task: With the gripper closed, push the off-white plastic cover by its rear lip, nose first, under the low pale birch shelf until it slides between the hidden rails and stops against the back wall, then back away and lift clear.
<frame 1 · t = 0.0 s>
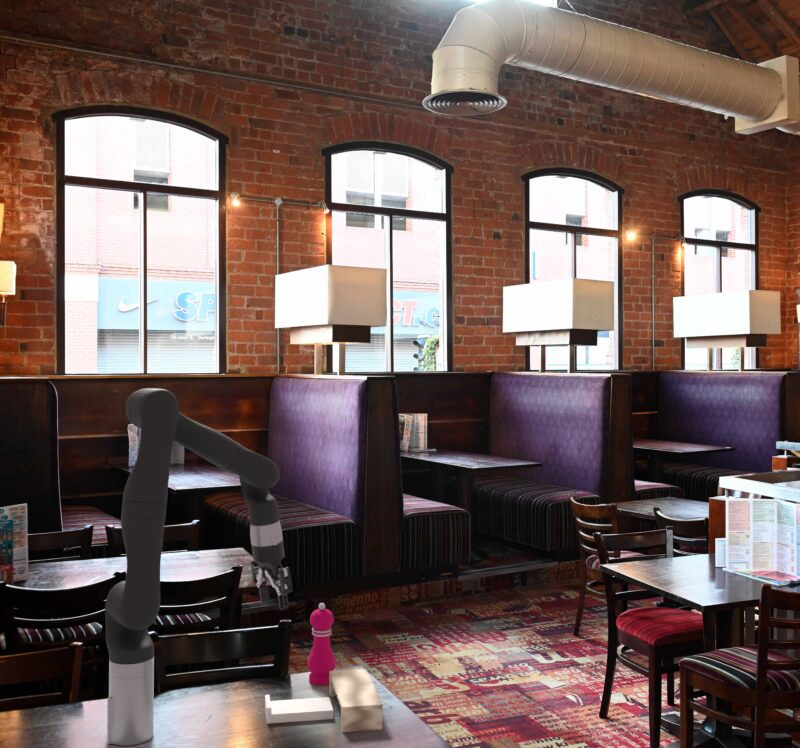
hand: (274, 605, 212), 22 cm above the table, tool pointing down, fingers open, 8 cm apart
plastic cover: (300, 714, 202), on the table
overhang shelf: (335, 711, 203), on the table
pepper mill: (321, 682, 223), on the table
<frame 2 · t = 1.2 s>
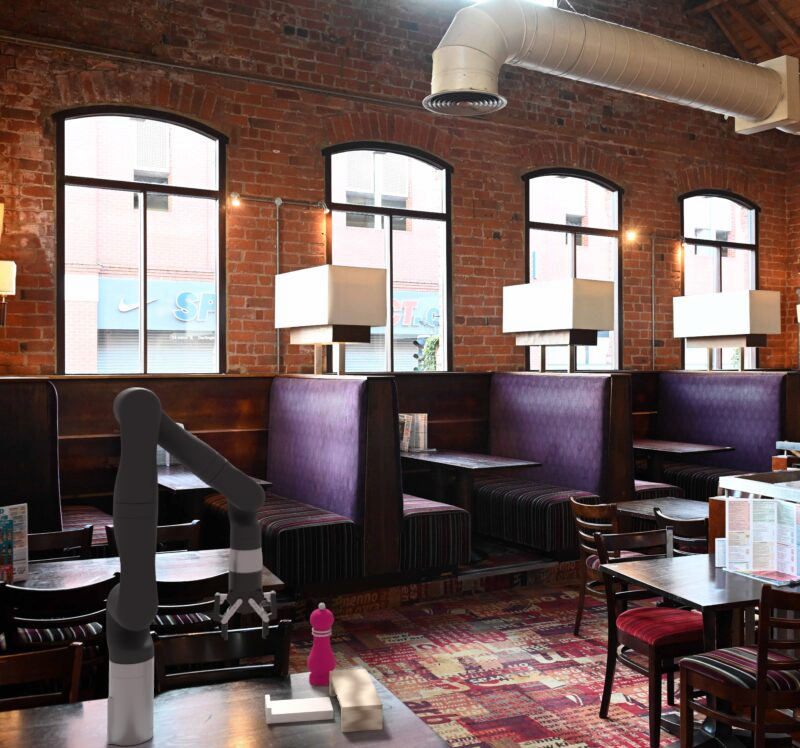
hand: (245, 638, 199), 18 cm above the table, tool pointing down, fingers open, 8 cm apart
nothing on the table moved.
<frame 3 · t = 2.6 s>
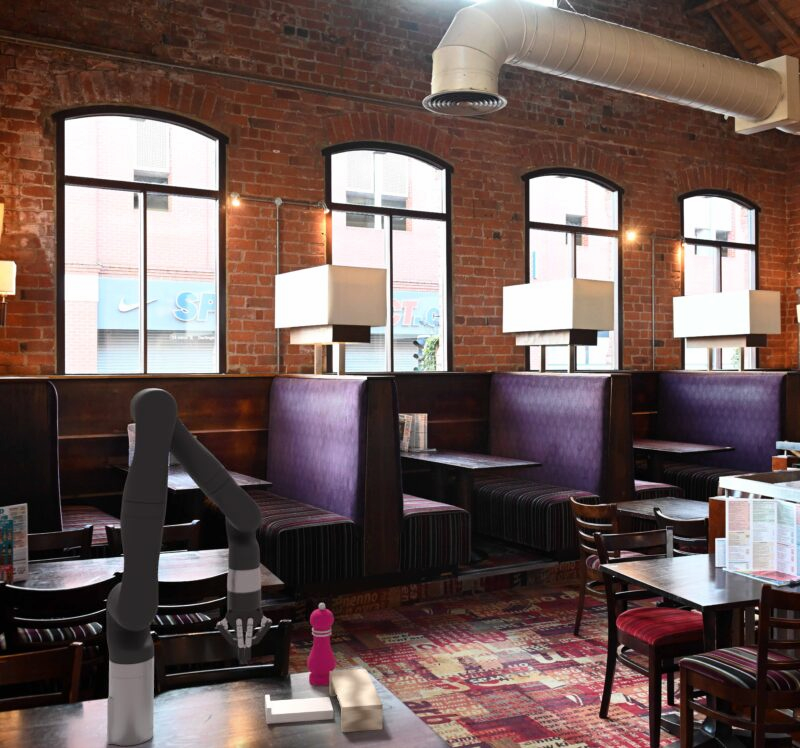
hand: (244, 662, 199), 13 cm above the table, tool pointing down, fingers closed
nothing on the table moved.
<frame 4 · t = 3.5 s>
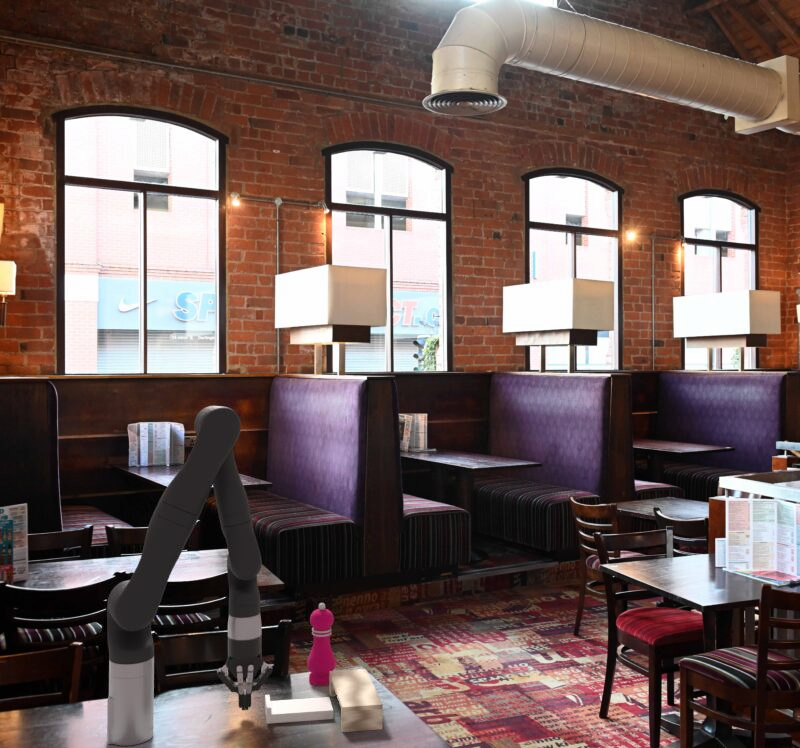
hand: (245, 708, 199), 2 cm above the table, tool pointing down, fingers closed
nothing on the table moved.
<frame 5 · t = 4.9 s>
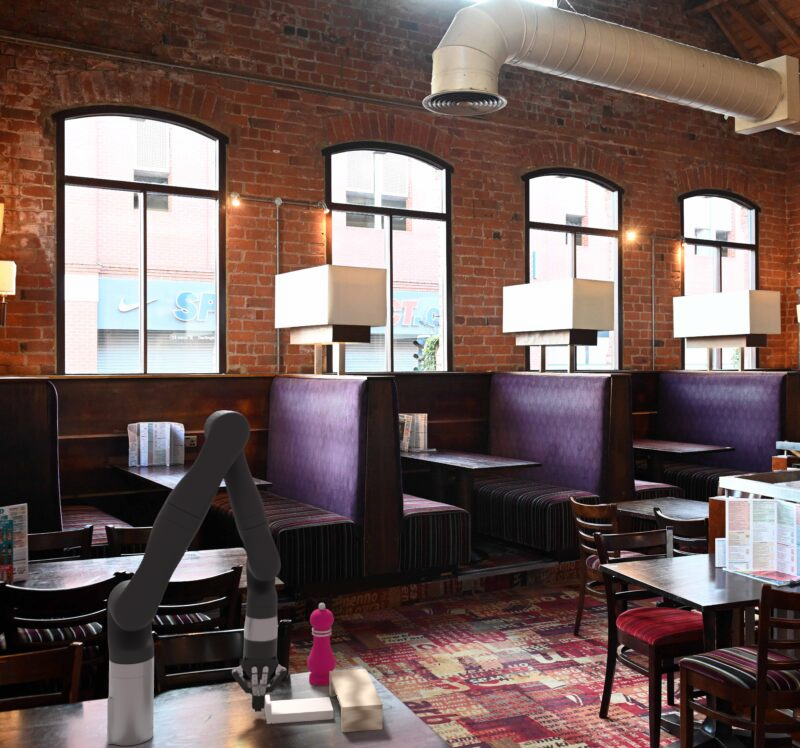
hand: (258, 710, 200), 2 cm above the table, tool pointing down, fingers closed
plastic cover: (300, 714, 202), on the table, touching gripper
everything else where it was.
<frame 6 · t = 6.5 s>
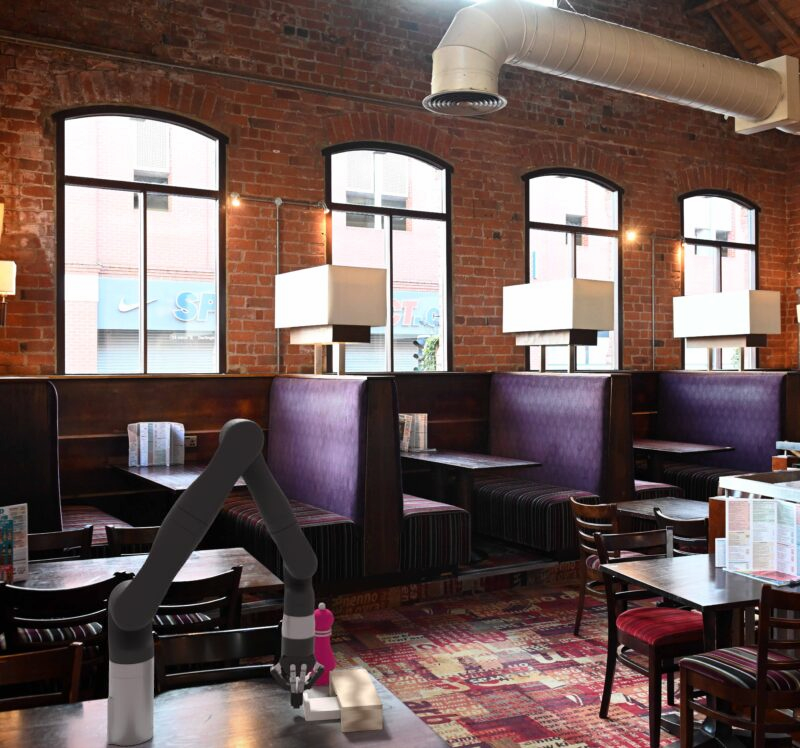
hand: (296, 707, 202), 2 cm above the table, tool pointing down, fingers closed
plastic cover: (338, 711, 203), on the table, touching gripper
everything else where it was.
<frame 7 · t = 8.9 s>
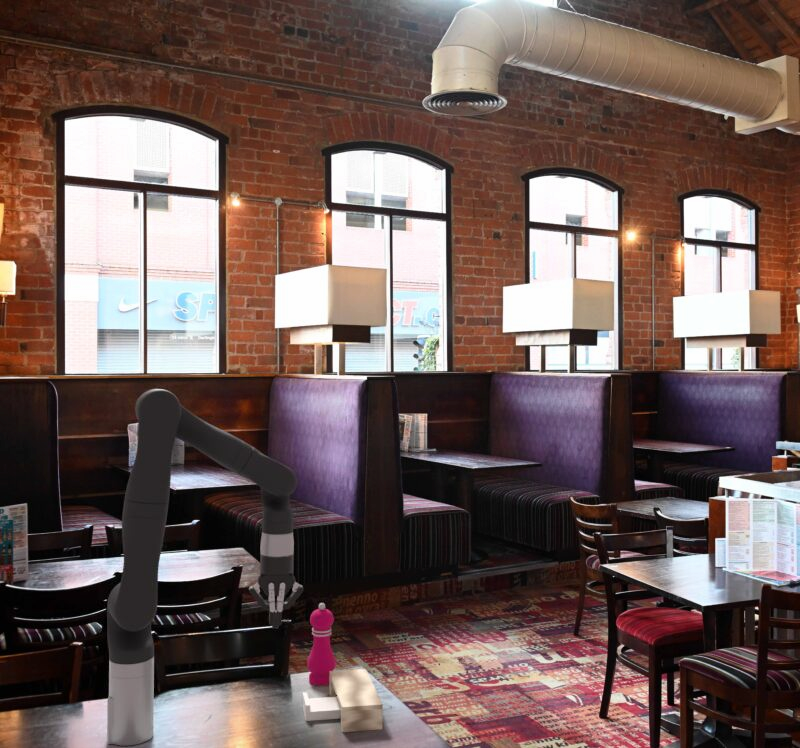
hand: (275, 627, 200), 20 cm above the table, tool pointing down, fingers closed
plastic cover: (338, 711, 203), on the table
everything else where it was.
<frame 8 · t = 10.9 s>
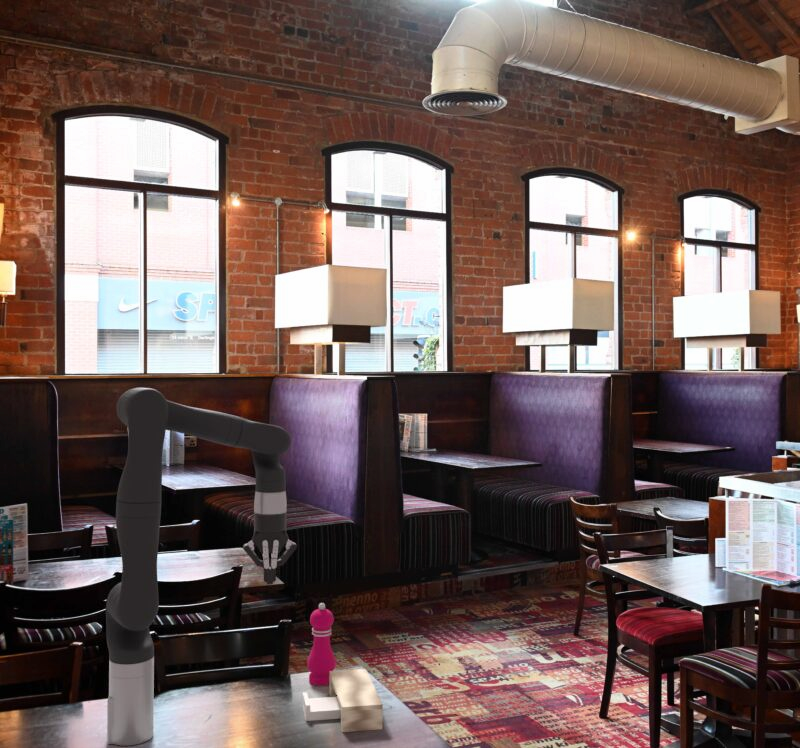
hand: (269, 583, 206), 29 cm above the table, tool pointing down, fingers closed
nothing on the table moved.
at the end: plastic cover 0.5 cm off-centre on the overhang shelf, point 0.0 cm above the overhang shelf's base; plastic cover tilted 0° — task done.
